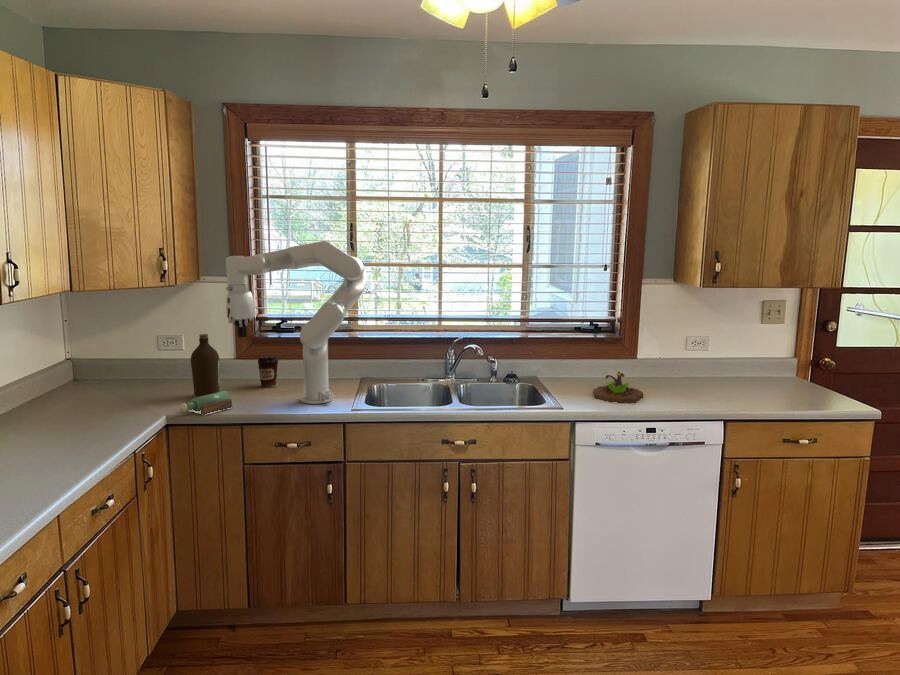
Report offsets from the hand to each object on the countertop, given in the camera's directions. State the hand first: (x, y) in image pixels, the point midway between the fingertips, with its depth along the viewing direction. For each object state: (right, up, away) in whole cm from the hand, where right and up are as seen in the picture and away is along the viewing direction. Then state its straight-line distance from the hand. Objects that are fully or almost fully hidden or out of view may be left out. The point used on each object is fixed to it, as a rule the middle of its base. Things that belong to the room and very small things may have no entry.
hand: (242, 336), depth 245 cm
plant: (+147, -25, +17) cm, 150 cm away
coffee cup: (+2, -21, +28) cm, 35 cm away
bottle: (-6, -23, -1) cm, 24 cm away
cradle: (-10, -27, -7) cm, 30 cm away
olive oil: (-18, -24, +12) cm, 32 cm away
